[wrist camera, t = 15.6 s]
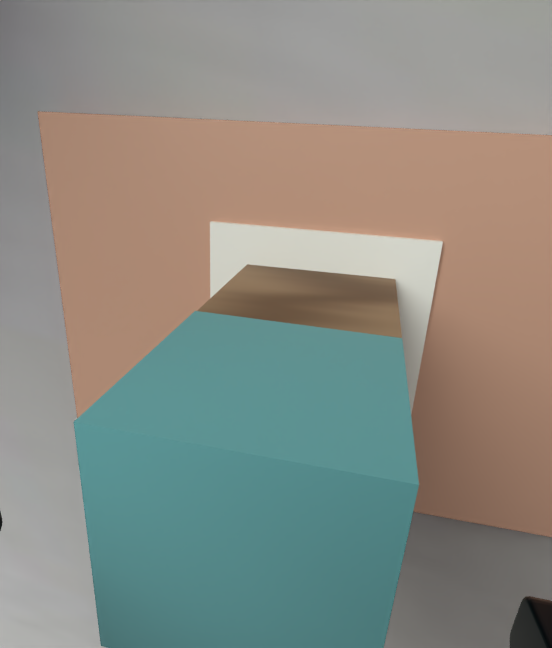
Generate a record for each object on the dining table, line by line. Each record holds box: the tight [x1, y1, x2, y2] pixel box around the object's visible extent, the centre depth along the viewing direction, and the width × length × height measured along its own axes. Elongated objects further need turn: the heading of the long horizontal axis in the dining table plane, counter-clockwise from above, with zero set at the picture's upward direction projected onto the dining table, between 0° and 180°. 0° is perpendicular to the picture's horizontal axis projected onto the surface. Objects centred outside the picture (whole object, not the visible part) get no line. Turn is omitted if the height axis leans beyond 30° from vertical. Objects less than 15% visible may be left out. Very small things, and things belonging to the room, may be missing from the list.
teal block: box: [74, 311, 419, 648], centre depth 10 cm, size 5×5×5 cm
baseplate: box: [38, 111, 552, 537], centre depth 17 cm, size 20×14×1 cm
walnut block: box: [197, 264, 402, 338], centre depth 14 cm, size 5×5×5 cm
